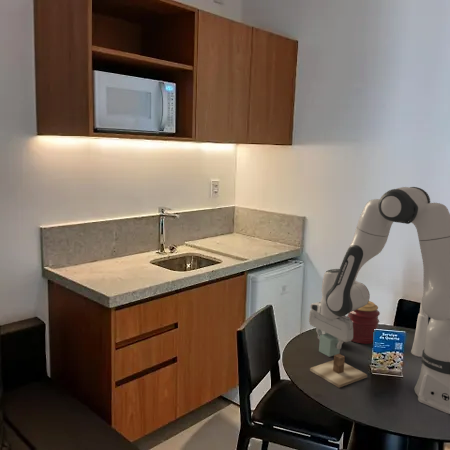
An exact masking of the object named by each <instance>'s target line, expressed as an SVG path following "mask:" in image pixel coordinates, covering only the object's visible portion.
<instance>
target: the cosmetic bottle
mask: <svg viewBox="0 0 450 450" xmlns="http://www.w3.org/2000/svg"><path fill="white" fill-rule="evenodd" d="M416 320H417V321H416V328H415V332H414V339H413V343H412V347H411V350H410V353H411V355H413V356H415V357H419V358H422V353H423V350H424V347H425V338H426V329H427V326H428V324H429V316H427V315H426V314H425V312H424V311H423V309H422V305H421V304H420V308H419V313H418V315H417V319H416Z"/></svg>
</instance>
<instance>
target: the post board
mask: <svg viewBox="0 0 450 450" xmlns="http://www.w3.org/2000/svg"><path fill="white" fill-rule="evenodd" d="M345 361H346V357H345V355H343V354H341V353H340V354H337V355H334V356H333V359H332V360H329V361H326V362H324V363H321V364H318V365H315V366H312V367H309V371H310V372H312V373H313V374H315V375H317V376H318V377H320V378H321V379H323V380H325V381H326V382H328V383H330V384H332V385H334V386H335V387H337V388H338V389H339V388H342V387H344V386H345V387H346V386H347V385H350V384H353V383H355V382H358V381H361V380H363V379H366V378H368V374H367V373H365V372H363V371H362V370H359V369H358V368H355V367H354V366H352V365H350V364H348V363H346V362H345Z"/></svg>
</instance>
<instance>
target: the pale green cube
mask: <svg viewBox="0 0 450 450" xmlns="http://www.w3.org/2000/svg"><path fill="white" fill-rule="evenodd" d="M338 342H339V341H338V338H336V337H334V336H332V335H330V334H328V333H327V334H323V335H320V340H319V344H318V345H319V347H318V353H321V354H323V355H325V356H327V357H329V358H330V357H334V355H337V354H341V353H340V352H341V349H337V348H335V345H336V343H338Z"/></svg>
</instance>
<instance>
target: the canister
mask: <svg viewBox="0 0 450 450" xmlns="http://www.w3.org/2000/svg"><path fill="white" fill-rule="evenodd" d="M378 309H379V306H378V305H376V303H374V302H373V301H372V300H371V301H370V300H369V302H368V303H367V304H366V305H365V306H363V307H361V308H359V309H357V310H354V311H352V312H350V313H348V314H347V315H346V316H347V317H349V318H350V319H351V320H352V322H353V339H352V340H351V341H350V342H354V343H358V344H365V345H371V344H373V343H372V342H373V332H374V329H376V328H378V329H379V323H380V319H379V316H380V314H381V311H379V310H378Z"/></svg>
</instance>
